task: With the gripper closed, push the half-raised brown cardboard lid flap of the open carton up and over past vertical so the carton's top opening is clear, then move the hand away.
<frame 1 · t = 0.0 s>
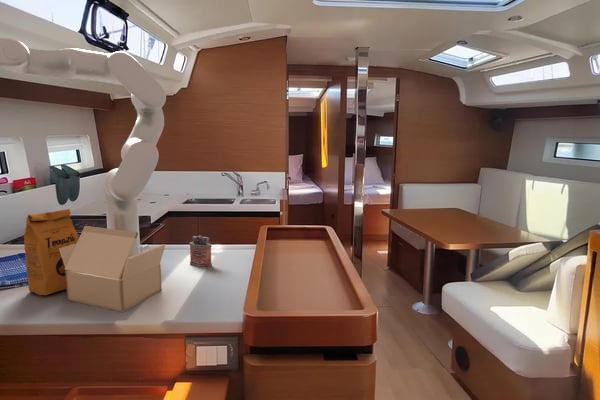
coffee package: (58, 289, 105), on the table
lid flap: (101, 251, 96), point 13 cm above the table, hinge at 55.0°
carton: (116, 295, 102), on the table
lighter: (200, 265, 126), on the table
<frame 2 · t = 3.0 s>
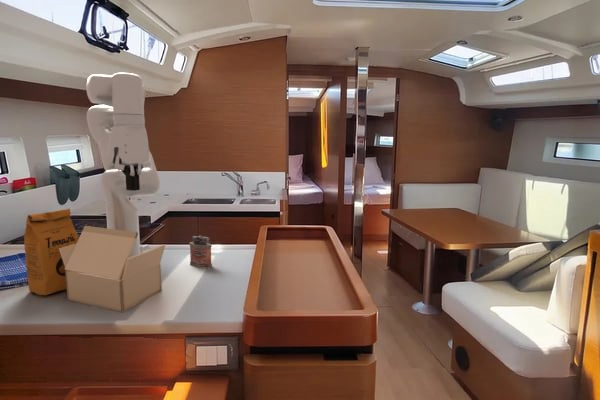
hand: (133, 189, 104), 28 cm above the table, tool pointing down, fingers closed
nothing on the table moved.
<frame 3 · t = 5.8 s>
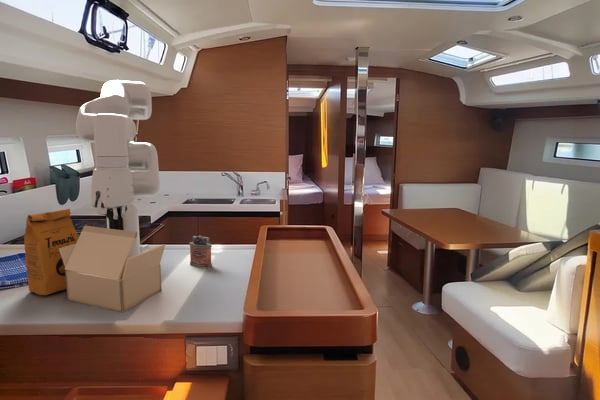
hand: (116, 232, 100), 17 cm above the table, tool pointing down, fingers closed
lid flap: (101, 251, 96), point 13 cm above the table, hinge at 55.7°, touching gripper
everything else where it was.
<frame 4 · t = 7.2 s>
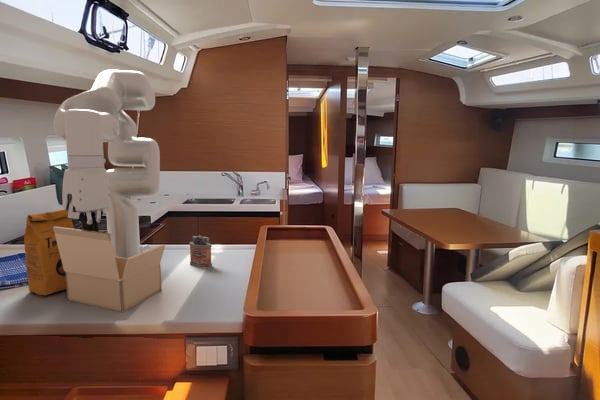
hand: (91, 239, 92), 17 cm above the table, tool pointing down, fingers closed
lid flap: (86, 253, 92), point 14 cm above the table, hinge at 99.2°, touching gripper
everything else where it was.
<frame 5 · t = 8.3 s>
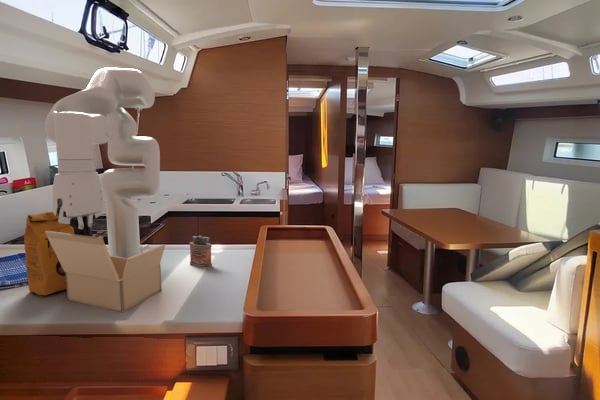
hand: (83, 243, 90), 17 cm above the table, tool pointing down, fingers closed
lid flap: (82, 255, 91), point 14 cm above the table, hinge at 109.9°, touching gripper
everything else where it was.
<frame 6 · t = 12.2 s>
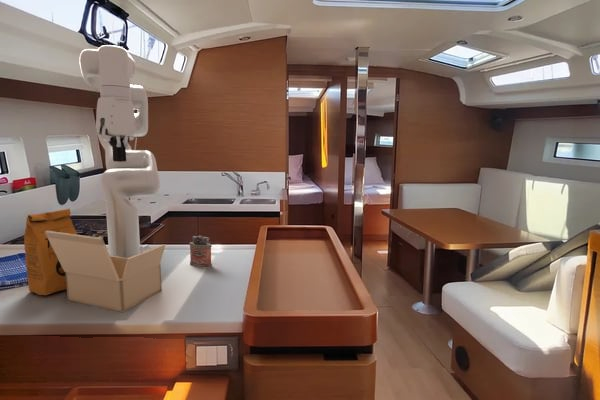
hand: (119, 161, 107), 35 cm above the table, tool pointing down, fingers closed
lid flap: (82, 255, 91), point 14 cm above the table, hinge at 109.9°
everything else where it was.
at the end: lid flap at +110° (first picture: +55°); coffee package moved 0.2 cm from its start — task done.
